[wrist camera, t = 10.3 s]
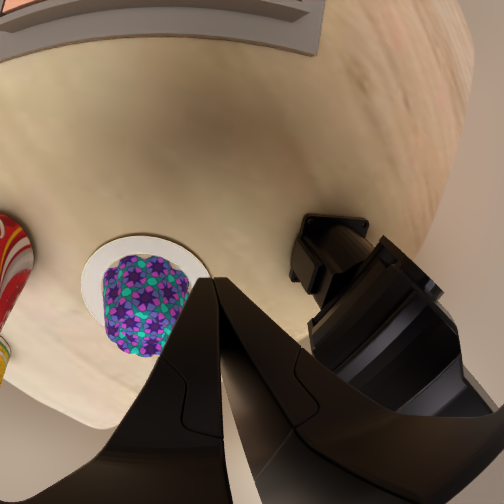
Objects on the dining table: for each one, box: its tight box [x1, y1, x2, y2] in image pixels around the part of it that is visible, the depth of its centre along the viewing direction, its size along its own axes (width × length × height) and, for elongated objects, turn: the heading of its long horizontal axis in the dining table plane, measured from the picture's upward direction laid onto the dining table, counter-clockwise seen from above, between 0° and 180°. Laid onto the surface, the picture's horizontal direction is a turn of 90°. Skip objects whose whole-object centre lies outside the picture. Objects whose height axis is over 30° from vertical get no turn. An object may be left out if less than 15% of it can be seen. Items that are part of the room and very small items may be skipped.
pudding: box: [81, 236, 210, 357], centre depth 21 cm, size 12×12×5 cm
